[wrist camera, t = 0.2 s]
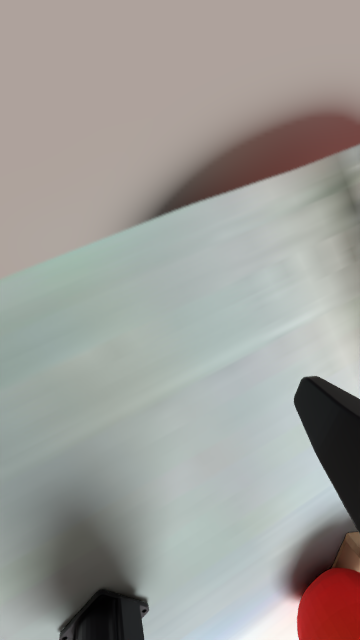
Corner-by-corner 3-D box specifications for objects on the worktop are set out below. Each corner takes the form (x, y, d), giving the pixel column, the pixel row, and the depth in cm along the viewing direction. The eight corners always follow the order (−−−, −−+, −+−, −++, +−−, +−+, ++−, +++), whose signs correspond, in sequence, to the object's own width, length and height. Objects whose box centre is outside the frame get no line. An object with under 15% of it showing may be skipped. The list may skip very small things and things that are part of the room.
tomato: (343, 613, 43) (411, 727, 34) (268, 616, 40) (319, 743, 30) (378, 551, 41) (463, 654, 31) (301, 548, 38) (369, 663, 28)
